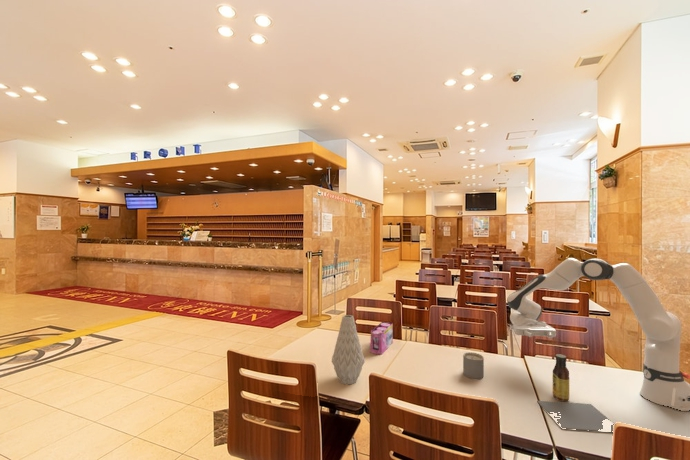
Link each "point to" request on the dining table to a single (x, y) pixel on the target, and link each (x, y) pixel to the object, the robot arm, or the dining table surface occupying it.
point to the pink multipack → (381, 337)
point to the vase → (348, 352)
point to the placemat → (576, 415)
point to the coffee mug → (473, 365)
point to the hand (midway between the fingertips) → (541, 336)
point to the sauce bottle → (561, 379)
